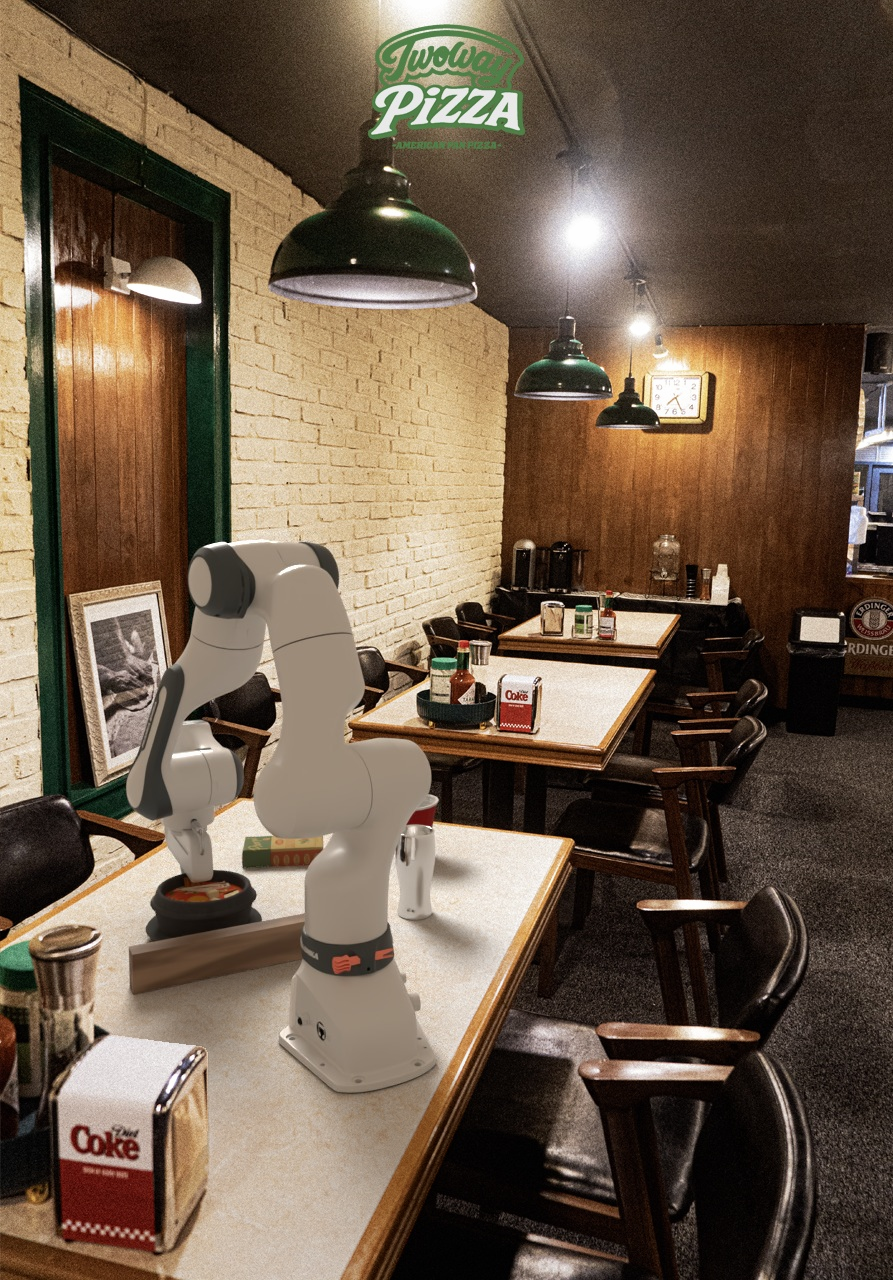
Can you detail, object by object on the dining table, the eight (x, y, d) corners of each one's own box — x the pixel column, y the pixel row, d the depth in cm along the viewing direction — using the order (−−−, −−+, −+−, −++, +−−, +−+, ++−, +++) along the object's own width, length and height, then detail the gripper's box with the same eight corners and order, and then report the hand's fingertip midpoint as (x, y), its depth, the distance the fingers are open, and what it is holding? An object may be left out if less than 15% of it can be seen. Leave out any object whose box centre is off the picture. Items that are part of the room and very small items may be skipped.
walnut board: (317, 955, 151) (317, 919, 150) (133, 994, 138) (132, 954, 137) (310, 947, 153) (310, 912, 153) (129, 985, 140) (128, 946, 140)
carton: (323, 867, 190) (323, 846, 190) (241, 870, 188) (241, 849, 187) (323, 852, 198) (323, 832, 198) (244, 855, 196) (244, 835, 196)
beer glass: (387, 911, 168) (387, 829, 166) (418, 902, 172) (418, 821, 170) (411, 924, 163) (412, 839, 161) (442, 914, 167) (443, 831, 165)
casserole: (154, 907, 168) (153, 861, 167) (262, 901, 172) (261, 856, 171) (136, 973, 144) (134, 920, 143) (262, 964, 147) (261, 912, 146)
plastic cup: (387, 846, 201) (387, 791, 200) (438, 847, 201) (439, 792, 200) (383, 865, 191) (383, 806, 189) (437, 866, 190) (438, 807, 189)
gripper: (222, 827, 157) (223, 907, 159) (192, 794, 175) (194, 867, 177) (183, 832, 154) (184, 914, 156) (157, 799, 172) (159, 872, 174)
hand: (189, 889), depth 166 cm, fingers closed
